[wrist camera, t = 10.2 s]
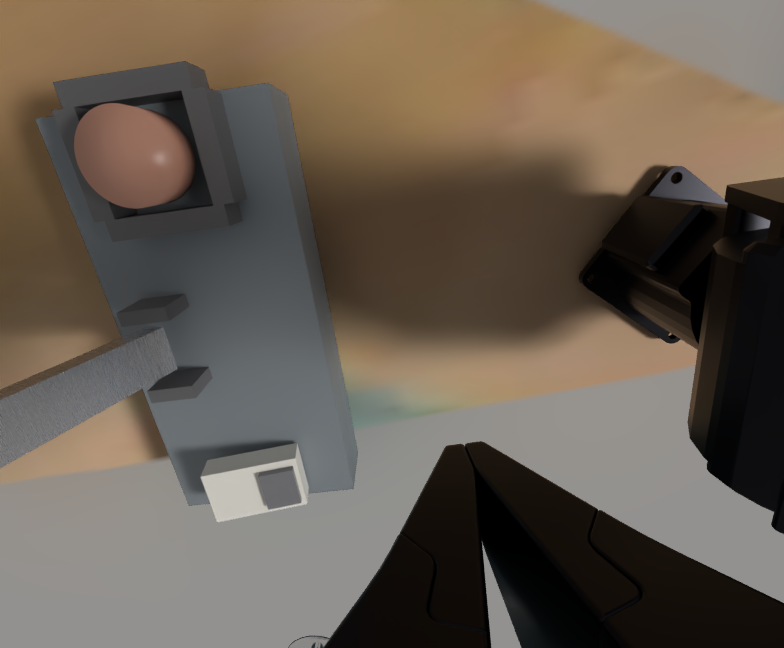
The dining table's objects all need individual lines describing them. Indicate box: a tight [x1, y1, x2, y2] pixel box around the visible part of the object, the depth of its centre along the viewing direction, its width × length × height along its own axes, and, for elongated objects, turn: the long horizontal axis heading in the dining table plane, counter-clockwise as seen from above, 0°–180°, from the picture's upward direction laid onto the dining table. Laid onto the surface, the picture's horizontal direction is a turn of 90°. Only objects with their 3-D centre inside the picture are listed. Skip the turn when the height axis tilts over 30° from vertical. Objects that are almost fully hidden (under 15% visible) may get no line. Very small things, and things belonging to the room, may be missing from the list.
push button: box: [74, 103, 196, 209], centre depth 15 cm, size 3×3×2 cm
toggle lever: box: [0, 326, 178, 468], centre depth 14 cm, size 2×2×12 cm
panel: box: [35, 61, 358, 506], centre depth 20 cm, size 9×20×5 cm, turn 8°
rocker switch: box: [201, 443, 309, 522], centre depth 21 cm, size 4×3×2 cm, turn 97°
